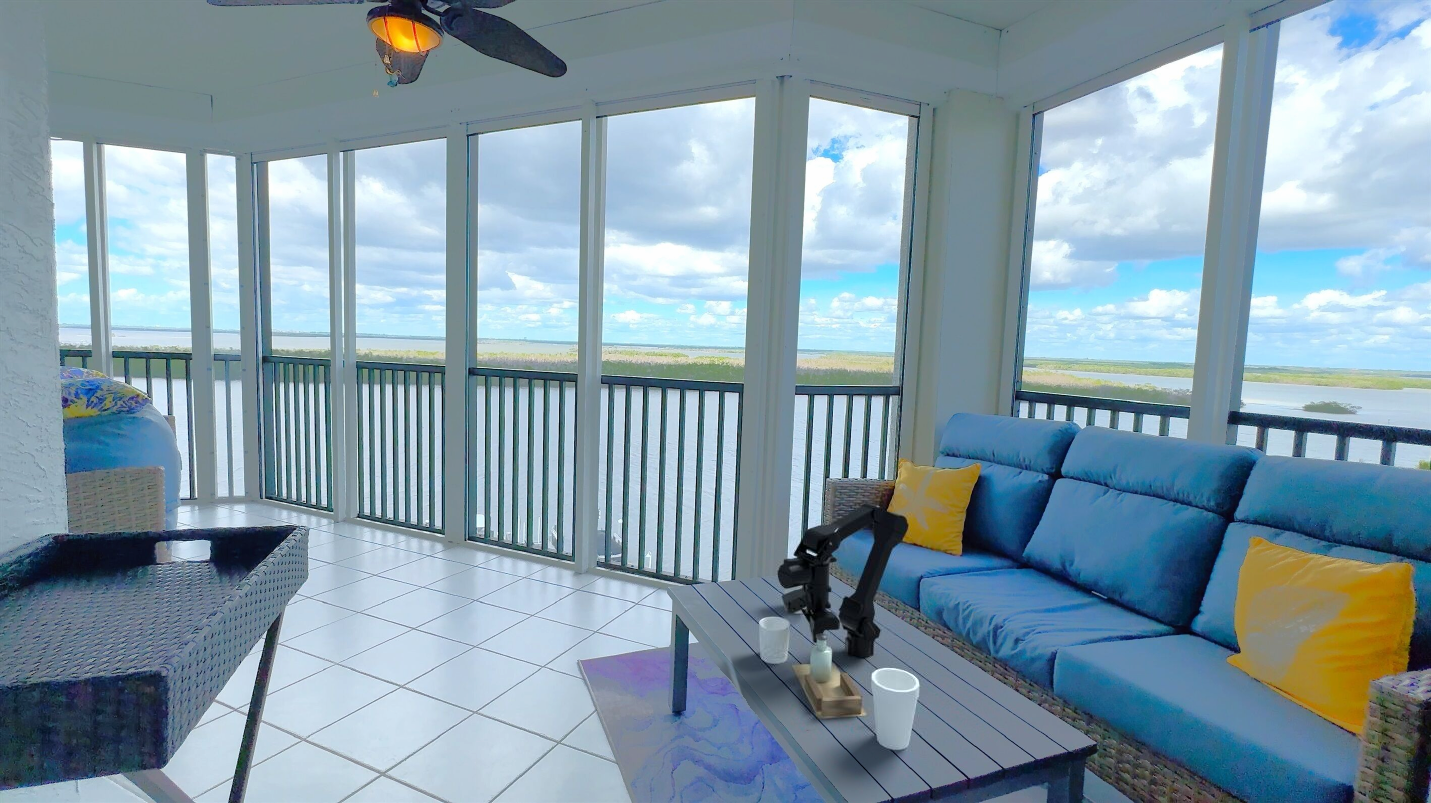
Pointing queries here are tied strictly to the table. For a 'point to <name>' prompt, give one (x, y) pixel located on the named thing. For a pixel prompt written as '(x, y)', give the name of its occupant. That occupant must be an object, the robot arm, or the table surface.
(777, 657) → the white cup
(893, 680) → the foam cup
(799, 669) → the cradle board
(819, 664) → the bottle
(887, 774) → the table surface
